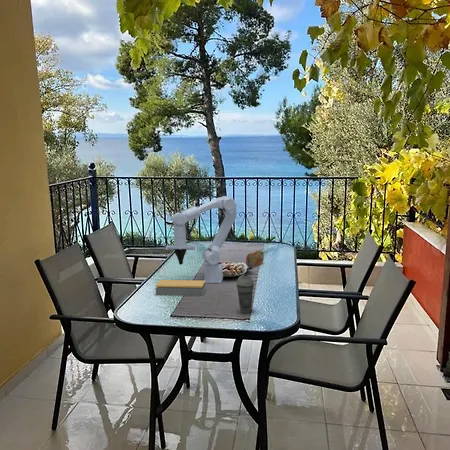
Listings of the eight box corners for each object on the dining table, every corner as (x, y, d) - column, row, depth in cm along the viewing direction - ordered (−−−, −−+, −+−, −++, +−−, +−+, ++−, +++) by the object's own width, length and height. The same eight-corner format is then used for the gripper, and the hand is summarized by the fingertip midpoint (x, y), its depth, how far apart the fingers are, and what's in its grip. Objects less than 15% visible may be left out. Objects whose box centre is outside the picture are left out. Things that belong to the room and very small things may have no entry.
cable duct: (205, 289, 205) (205, 282, 205) (202, 295, 196) (202, 288, 196) (160, 288, 208) (160, 281, 207) (155, 294, 199) (155, 287, 198)
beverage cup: (249, 315, 172) (248, 268, 168) (233, 312, 176) (232, 265, 172) (257, 309, 178) (257, 263, 175) (242, 306, 182) (241, 261, 178)
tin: (249, 269, 237) (249, 254, 235) (245, 268, 238) (244, 254, 237) (264, 263, 248) (264, 249, 247) (259, 262, 250) (259, 248, 249)
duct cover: (205, 282, 205) (205, 280, 205) (202, 287, 196) (202, 286, 196) (160, 281, 207) (160, 279, 207) (155, 287, 198) (155, 285, 198)
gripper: (196, 235, 213) (196, 262, 215) (167, 235, 214) (168, 261, 217) (193, 238, 206) (194, 265, 208) (164, 238, 208) (165, 265, 210)
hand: (181, 264), depth 212 cm, fingers closed
